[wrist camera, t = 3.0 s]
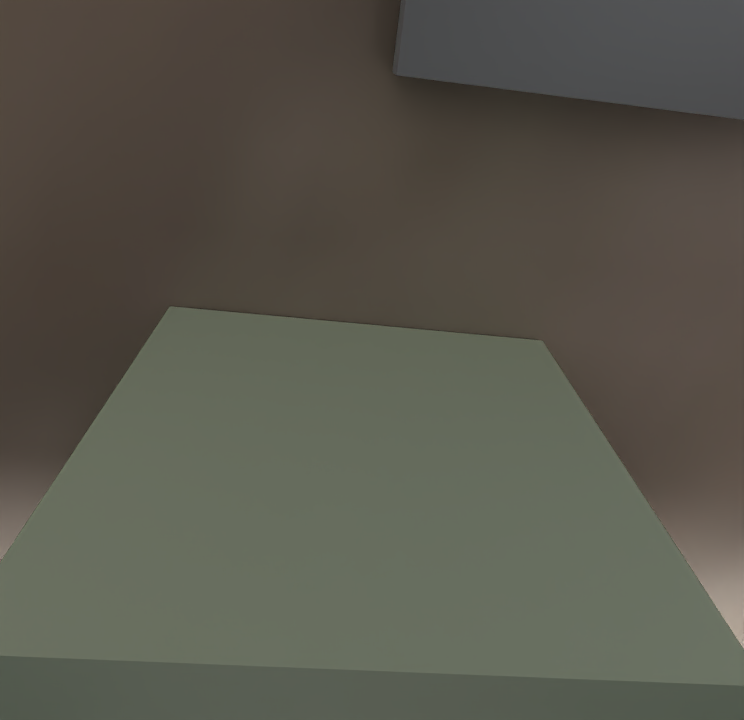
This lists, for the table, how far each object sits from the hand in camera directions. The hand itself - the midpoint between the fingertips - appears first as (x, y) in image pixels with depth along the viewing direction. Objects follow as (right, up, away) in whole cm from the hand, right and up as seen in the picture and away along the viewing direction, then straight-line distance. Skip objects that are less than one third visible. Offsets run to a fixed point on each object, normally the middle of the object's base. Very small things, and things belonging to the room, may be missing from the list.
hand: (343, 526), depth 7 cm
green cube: (0, 0, +1) cm, 1 cm away
